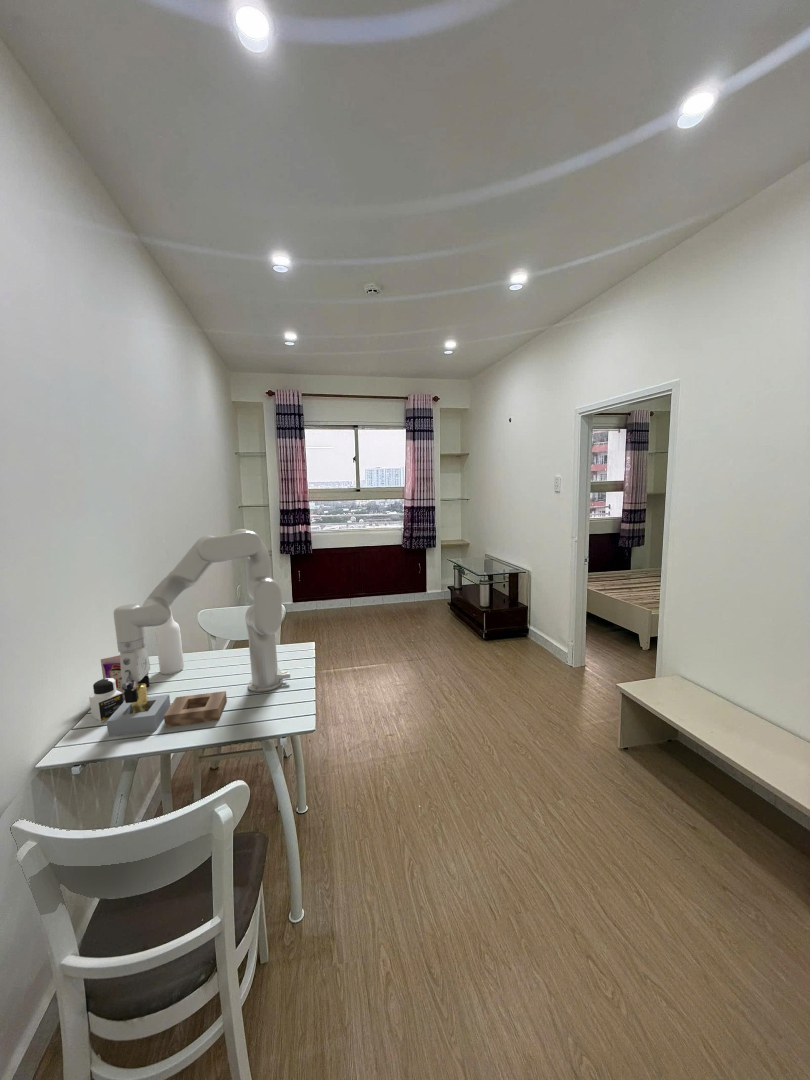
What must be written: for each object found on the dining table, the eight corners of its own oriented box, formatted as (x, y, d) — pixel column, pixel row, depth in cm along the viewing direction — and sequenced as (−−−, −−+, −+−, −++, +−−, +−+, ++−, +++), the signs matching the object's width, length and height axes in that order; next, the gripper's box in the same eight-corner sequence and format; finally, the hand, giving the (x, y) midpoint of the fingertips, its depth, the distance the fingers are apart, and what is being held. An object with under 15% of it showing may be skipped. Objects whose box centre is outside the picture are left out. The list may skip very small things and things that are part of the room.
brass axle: (151, 711, 138) (148, 682, 137) (145, 718, 134) (142, 688, 133) (136, 712, 137) (133, 684, 136) (130, 720, 133) (127, 690, 132)
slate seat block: (170, 708, 144) (169, 694, 143) (156, 730, 131) (154, 715, 130) (127, 713, 141) (125, 699, 140) (108, 736, 128) (106, 721, 127)
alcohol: (173, 675, 169) (165, 603, 165) (154, 674, 171) (146, 603, 167) (188, 666, 177) (181, 597, 173) (171, 665, 179) (163, 597, 175)
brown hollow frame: (226, 701, 147) (225, 691, 146) (219, 720, 135) (218, 708, 134) (177, 708, 143) (176, 697, 143) (165, 727, 132) (163, 715, 131)
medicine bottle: (101, 722, 136) (96, 687, 134) (91, 716, 140) (86, 682, 138) (125, 712, 142) (120, 678, 140) (115, 706, 146) (110, 674, 144)
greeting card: (104, 699, 151) (98, 660, 149) (118, 689, 158) (113, 652, 156) (135, 698, 151) (130, 659, 149) (148, 688, 158) (143, 651, 156)
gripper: (133, 653, 125) (140, 706, 127) (155, 633, 141) (160, 681, 144) (105, 655, 123) (112, 710, 125) (130, 635, 140) (136, 683, 142)
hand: (138, 694), depth 134 cm, fingers open, 9 cm apart
